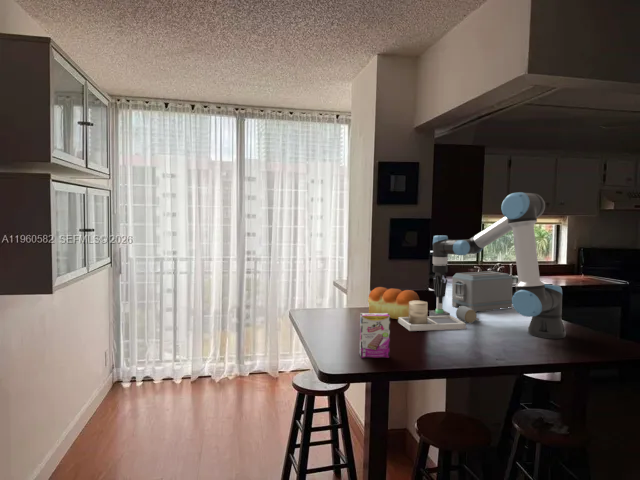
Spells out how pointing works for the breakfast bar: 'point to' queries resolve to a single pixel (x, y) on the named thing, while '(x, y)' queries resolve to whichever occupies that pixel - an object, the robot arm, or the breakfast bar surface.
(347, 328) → the breakfast bar surface
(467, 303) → the toaster
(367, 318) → the candy bar box
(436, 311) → the button
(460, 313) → the ceramic mug
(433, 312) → the button housing
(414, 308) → the cylinder
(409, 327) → the white divided tray
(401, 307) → the bread
